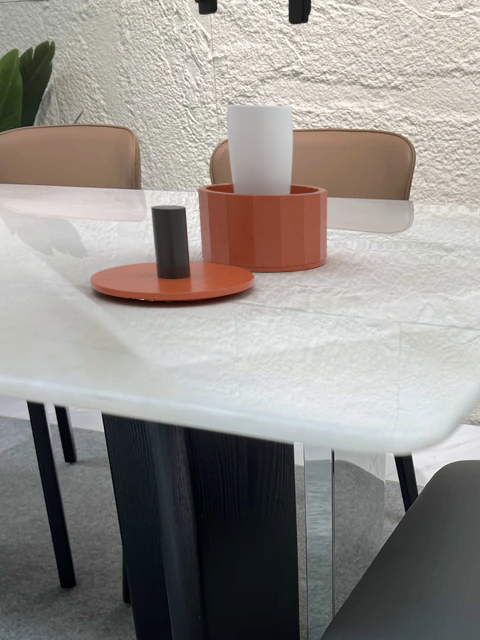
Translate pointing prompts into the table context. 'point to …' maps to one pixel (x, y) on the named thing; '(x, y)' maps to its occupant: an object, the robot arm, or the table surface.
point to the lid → (172, 268)
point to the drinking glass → (260, 148)
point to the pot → (264, 228)
